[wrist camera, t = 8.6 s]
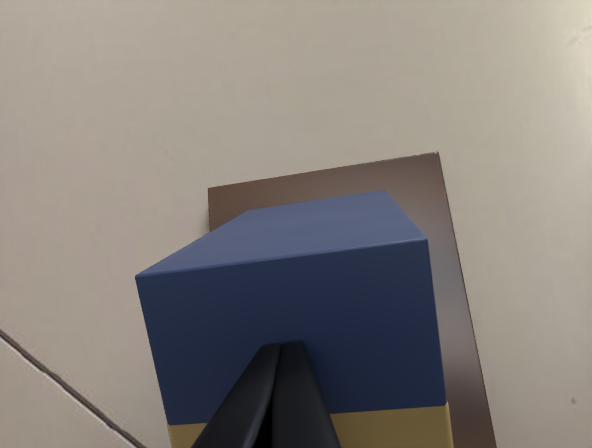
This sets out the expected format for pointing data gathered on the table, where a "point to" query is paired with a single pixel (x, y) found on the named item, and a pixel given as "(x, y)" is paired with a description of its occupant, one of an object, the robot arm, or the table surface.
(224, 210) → the walnut board
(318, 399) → the robot arm
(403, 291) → the navy box
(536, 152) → the table surface
